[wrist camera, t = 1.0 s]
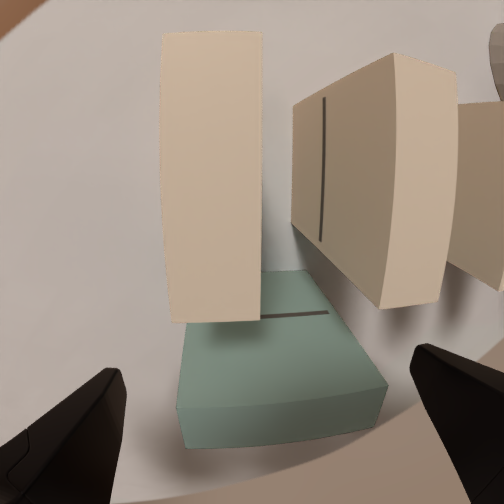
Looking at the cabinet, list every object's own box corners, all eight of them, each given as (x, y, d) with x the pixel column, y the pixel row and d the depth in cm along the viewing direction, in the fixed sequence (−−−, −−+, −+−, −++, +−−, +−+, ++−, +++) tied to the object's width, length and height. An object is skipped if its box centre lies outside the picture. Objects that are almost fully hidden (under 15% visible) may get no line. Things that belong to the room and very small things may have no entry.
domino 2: (194, 273, 14) (176, 407, 6) (306, 269, 14) (388, 384, 7) (196, 307, 14) (186, 449, 7) (303, 302, 15) (373, 427, 7)
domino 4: (406, 120, 13) (544, 116, 5) (401, 222, 14) (526, 285, 7) (377, 115, 12) (516, 100, 5) (373, 222, 14) (498, 291, 6)
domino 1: (235, 104, 12) (263, 32, 4) (235, 223, 13) (261, 319, 6) (194, 104, 12) (161, 33, 4) (195, 224, 13) (170, 323, 5)
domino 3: (329, 108, 12) (456, 72, 5) (326, 222, 14) (438, 301, 6) (292, 106, 12) (392, 52, 4) (290, 222, 13) (378, 310, 6)
